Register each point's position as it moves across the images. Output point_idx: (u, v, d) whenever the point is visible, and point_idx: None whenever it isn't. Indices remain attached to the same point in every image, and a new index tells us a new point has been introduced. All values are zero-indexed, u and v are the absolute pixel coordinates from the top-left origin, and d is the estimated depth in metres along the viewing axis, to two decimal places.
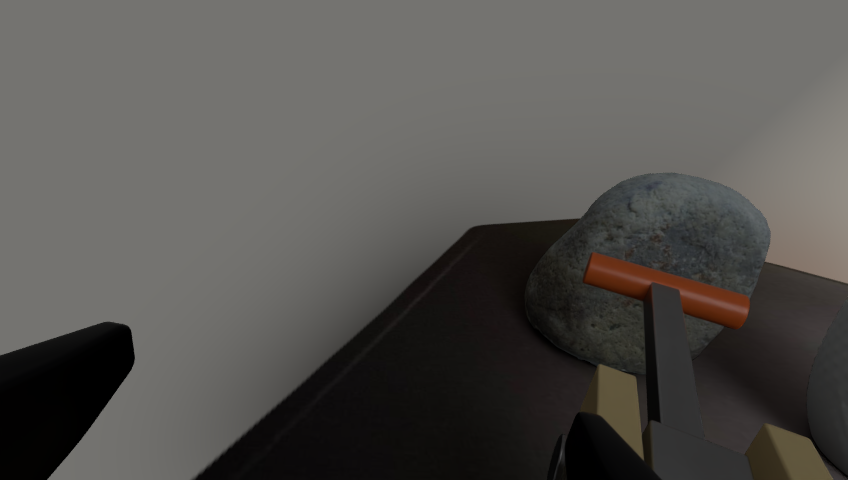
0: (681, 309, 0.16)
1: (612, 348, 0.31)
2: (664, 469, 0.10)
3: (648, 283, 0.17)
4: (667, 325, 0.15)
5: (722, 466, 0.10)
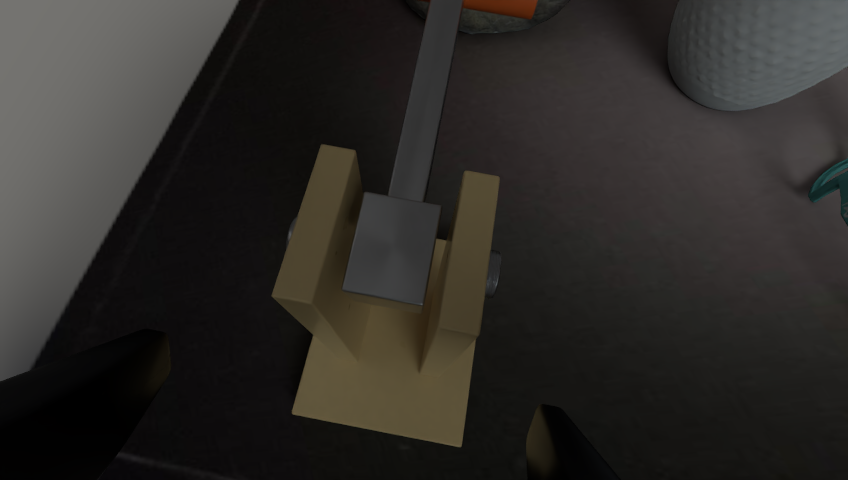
0: (457, 19, 0.14)
1: (479, 12, 0.28)
2: (362, 239, 0.11)
3: None
4: (432, 50, 0.14)
5: (414, 222, 0.12)
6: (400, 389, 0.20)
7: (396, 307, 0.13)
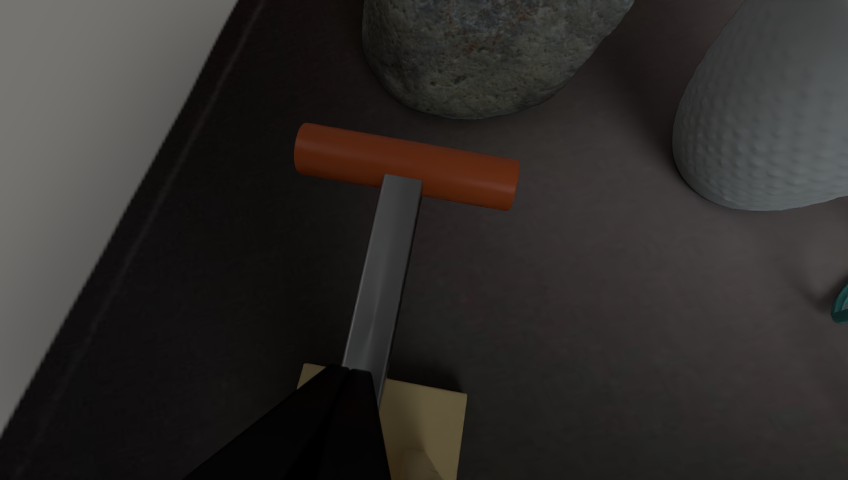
0: (410, 230, 0.11)
1: (461, 102, 0.25)
2: None
3: (379, 177, 0.11)
4: (378, 276, 0.11)
5: None
6: None
7: None
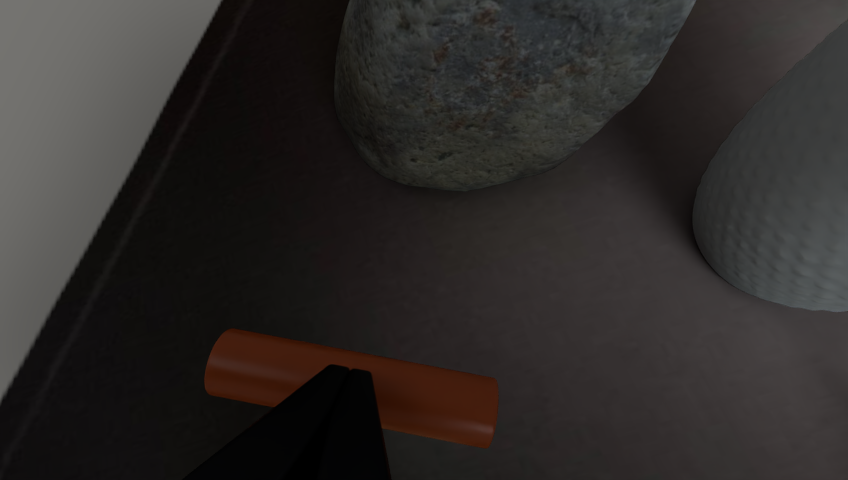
0: None
1: (447, 178, 0.21)
2: None
3: None
4: None
5: None
6: None
7: None
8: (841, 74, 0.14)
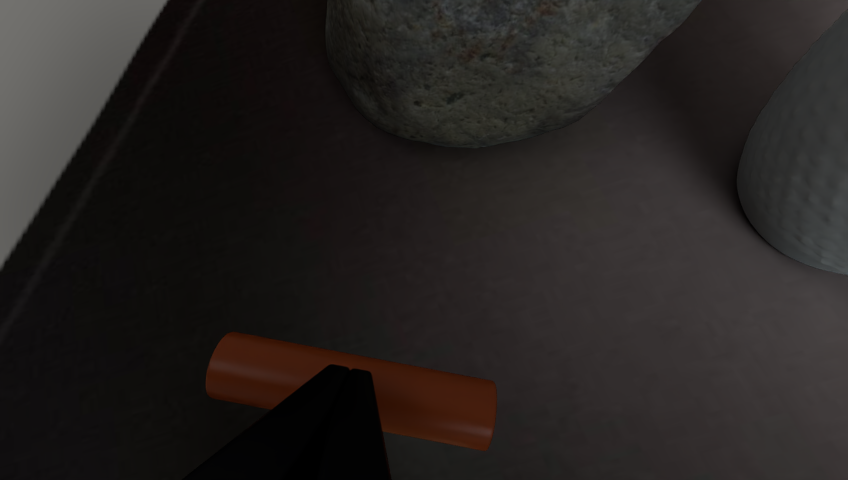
0: None
1: (457, 128, 0.18)
2: None
3: None
4: None
5: None
6: None
7: None
8: None
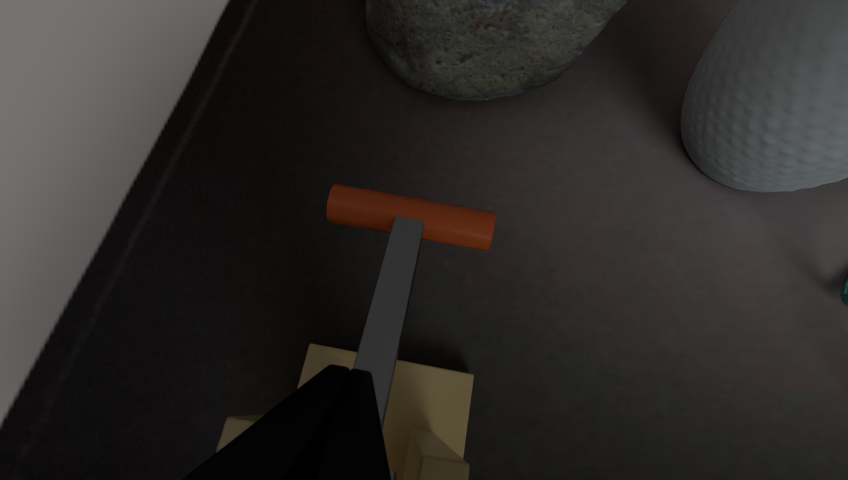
0: (416, 251, 0.14)
1: (467, 82, 0.25)
2: None
3: (391, 218, 0.15)
4: (391, 280, 0.13)
5: None
6: None
7: None
8: None
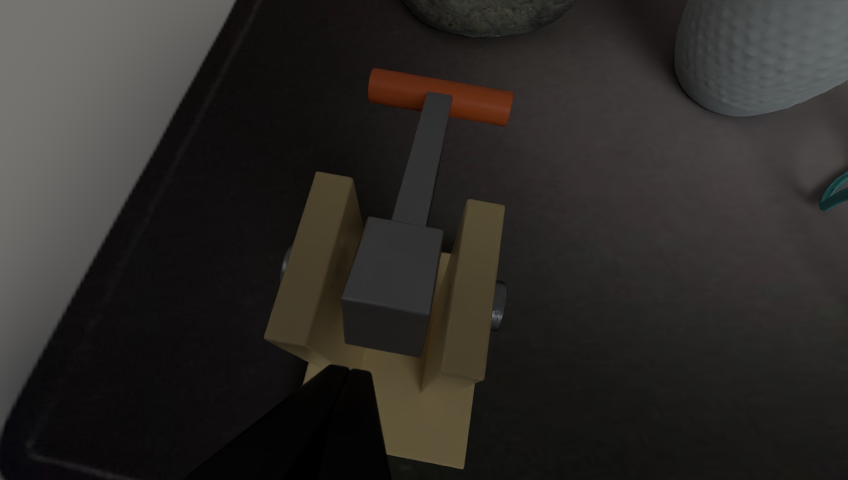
0: (447, 114, 0.17)
1: (481, 16, 0.27)
2: (364, 253, 0.11)
3: (424, 93, 0.18)
4: (427, 131, 0.16)
5: (417, 241, 0.12)
6: (401, 409, 0.20)
7: (394, 343, 0.11)
8: None
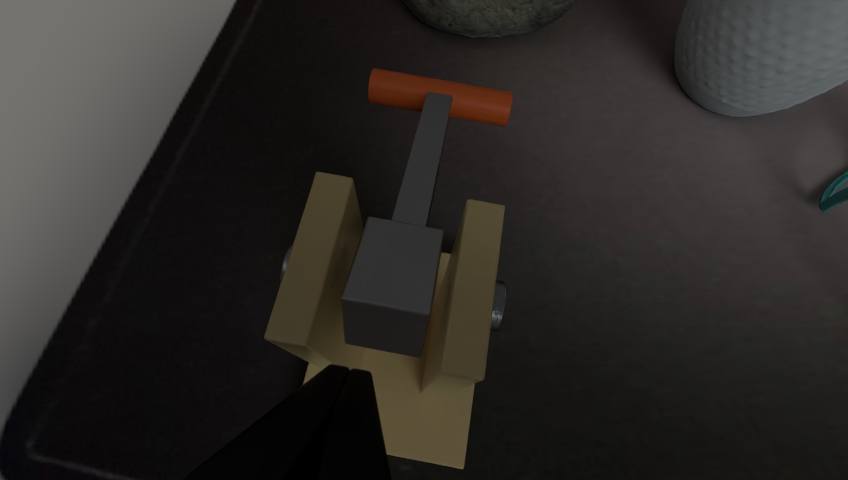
0: (447, 114, 0.17)
1: (481, 16, 0.27)
2: (364, 253, 0.11)
3: (424, 93, 0.18)
4: (427, 131, 0.16)
5: (417, 241, 0.12)
6: (401, 409, 0.20)
7: (394, 343, 0.11)
8: None
